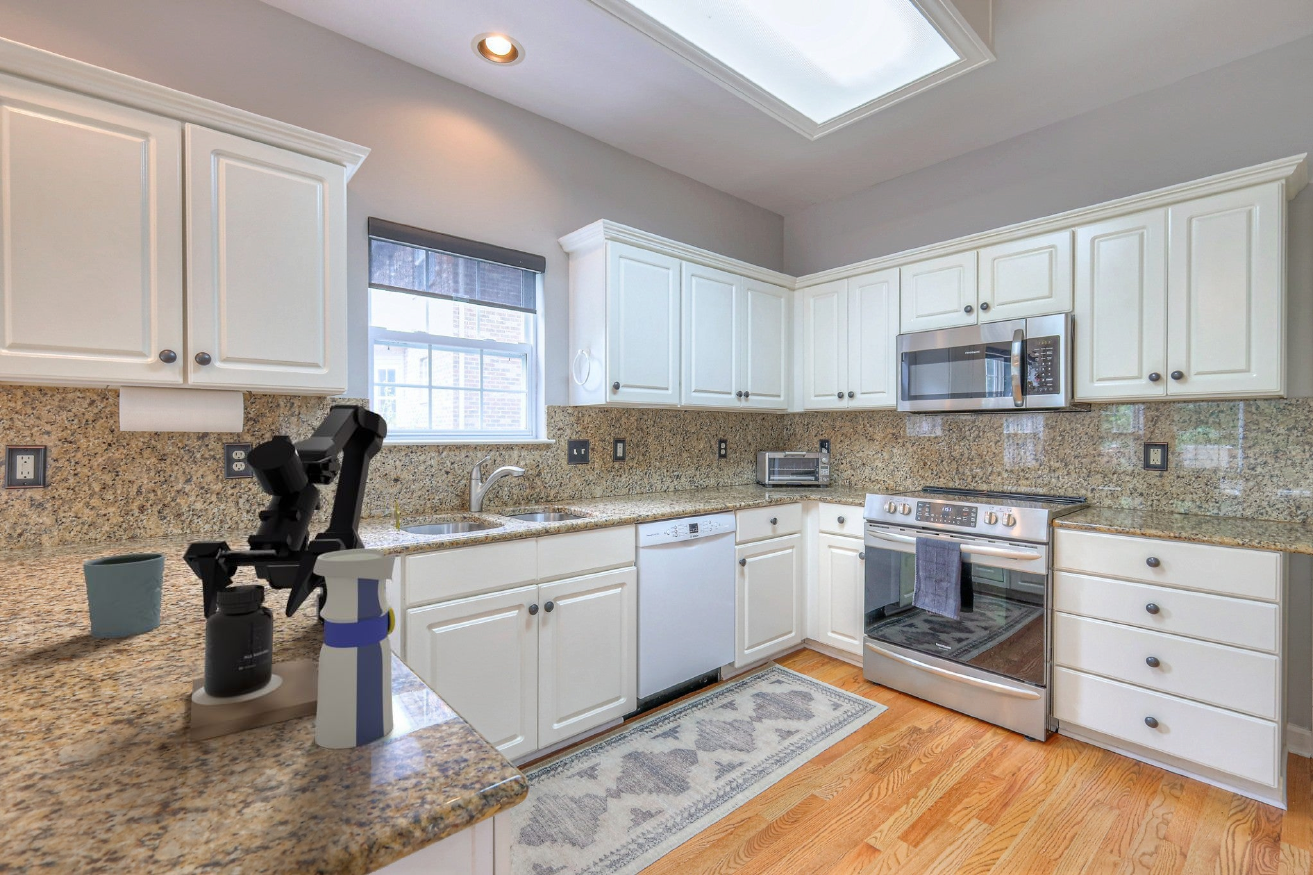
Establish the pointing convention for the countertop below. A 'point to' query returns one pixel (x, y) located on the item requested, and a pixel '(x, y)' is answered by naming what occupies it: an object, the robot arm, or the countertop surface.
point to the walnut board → (256, 702)
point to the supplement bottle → (238, 643)
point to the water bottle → (355, 648)
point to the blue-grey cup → (124, 594)
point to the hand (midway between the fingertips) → (247, 617)
